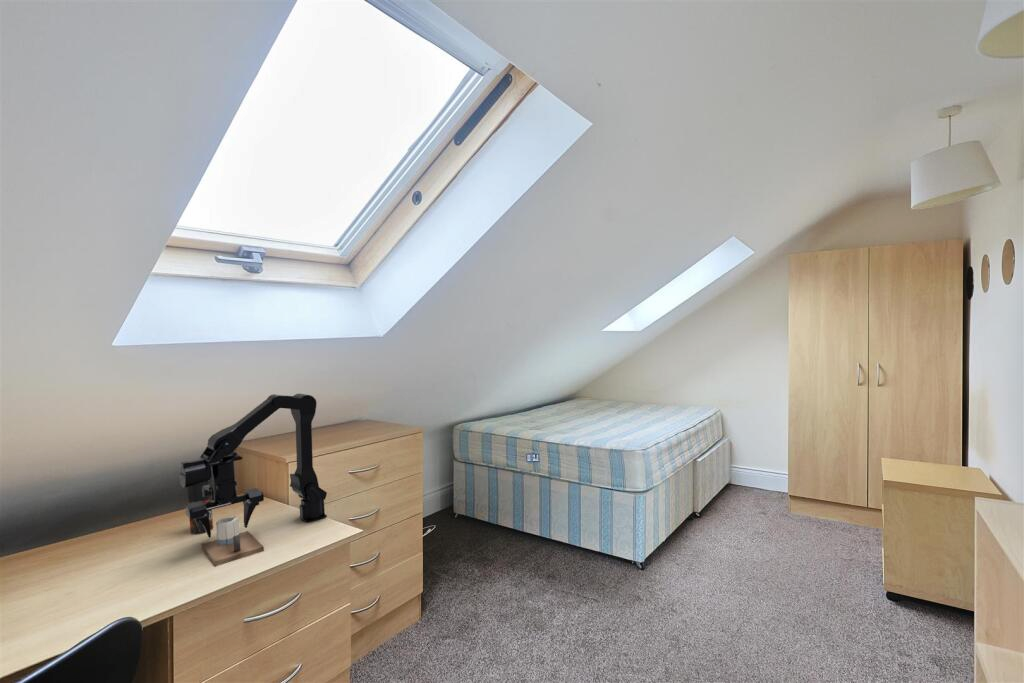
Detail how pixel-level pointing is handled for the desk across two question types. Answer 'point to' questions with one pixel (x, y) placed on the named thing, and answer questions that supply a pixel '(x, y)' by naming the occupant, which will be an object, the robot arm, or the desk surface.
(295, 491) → the robot arm
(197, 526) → the deodorant
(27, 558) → the desk surface
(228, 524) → the sleeve
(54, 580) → the desk surface
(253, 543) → the pin board
